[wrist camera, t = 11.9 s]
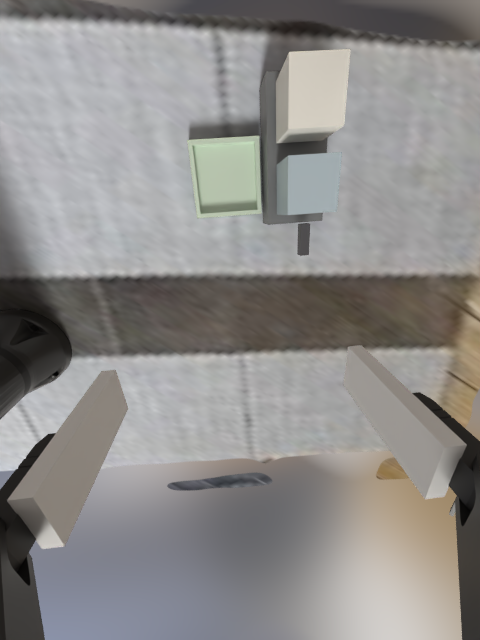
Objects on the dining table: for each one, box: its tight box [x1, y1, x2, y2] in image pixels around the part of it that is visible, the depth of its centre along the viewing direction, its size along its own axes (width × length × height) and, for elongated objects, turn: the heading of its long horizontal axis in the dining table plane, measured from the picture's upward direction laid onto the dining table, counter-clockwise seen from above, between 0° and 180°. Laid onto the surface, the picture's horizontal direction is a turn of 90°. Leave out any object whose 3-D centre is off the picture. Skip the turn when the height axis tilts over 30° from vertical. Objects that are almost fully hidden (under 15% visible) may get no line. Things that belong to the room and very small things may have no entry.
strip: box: [260, 71, 342, 256], centre depth 33 cm, size 8×21×12 cm, turn 4°
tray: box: [187, 136, 262, 218], centre depth 37 cm, size 10×10×2 cm
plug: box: [276, 49, 351, 143], centre depth 30 cm, size 6×6×11 cm
